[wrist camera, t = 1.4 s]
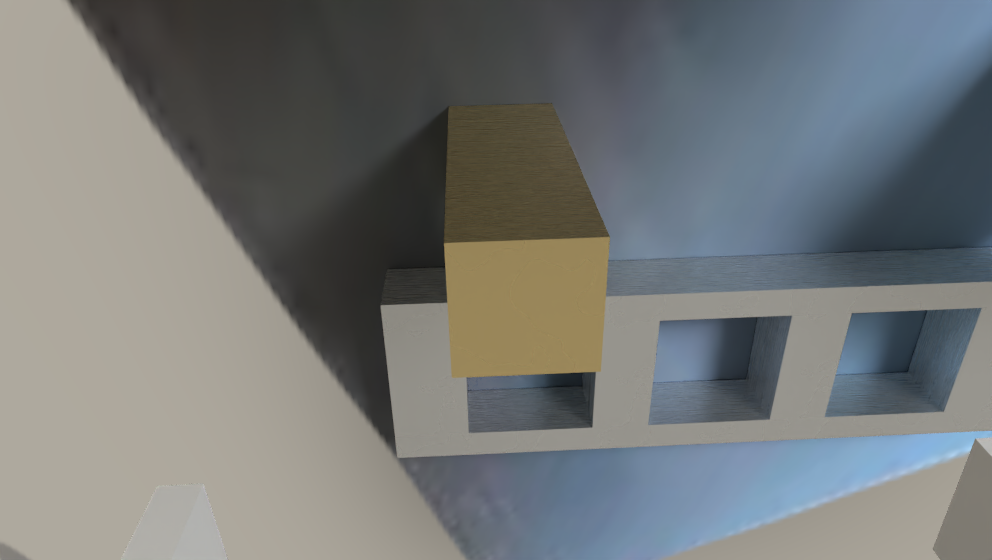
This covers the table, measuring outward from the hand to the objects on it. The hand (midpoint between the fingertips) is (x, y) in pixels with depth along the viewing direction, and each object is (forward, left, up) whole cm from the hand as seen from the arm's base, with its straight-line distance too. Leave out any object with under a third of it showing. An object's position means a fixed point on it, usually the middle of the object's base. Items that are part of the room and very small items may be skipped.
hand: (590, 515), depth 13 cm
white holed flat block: (+9, +8, -19) cm, 22 cm away
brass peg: (0, -1, -19) cm, 19 cm away
